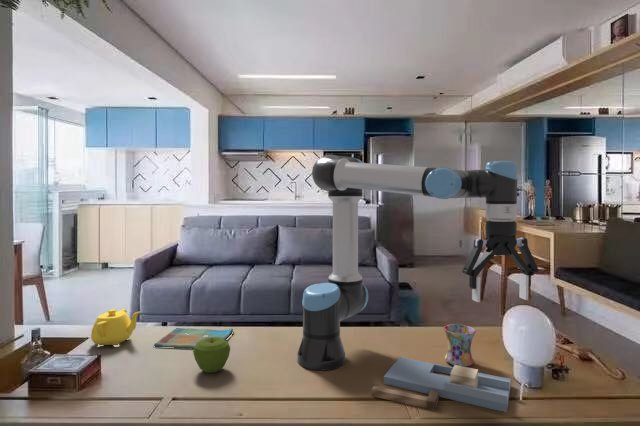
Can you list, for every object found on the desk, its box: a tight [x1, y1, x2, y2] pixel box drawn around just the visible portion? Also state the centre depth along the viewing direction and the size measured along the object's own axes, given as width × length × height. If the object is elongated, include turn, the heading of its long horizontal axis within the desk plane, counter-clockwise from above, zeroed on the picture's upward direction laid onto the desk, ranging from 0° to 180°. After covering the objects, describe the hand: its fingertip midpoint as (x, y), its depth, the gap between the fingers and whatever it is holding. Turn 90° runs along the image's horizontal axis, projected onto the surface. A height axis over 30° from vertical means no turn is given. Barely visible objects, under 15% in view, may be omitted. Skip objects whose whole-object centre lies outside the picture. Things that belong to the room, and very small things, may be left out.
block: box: [449, 365, 479, 388], centre depth 106 cm, size 6×6×4 cm
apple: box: [192, 337, 231, 374], centre depth 120 cm, size 11×10×10 cm
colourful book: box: [153, 327, 234, 350], centre depth 145 cm, size 17×23×2 cm
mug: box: [443, 323, 477, 367], centre depth 126 cm, size 12×9×11 cm
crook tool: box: [371, 385, 440, 411], centre depth 104 cm, size 16×6×2 cm, turn 65°
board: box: [383, 356, 512, 413], centre depth 111 cm, size 31×15×4 cm, turn 61°
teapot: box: [90, 308, 141, 346], centre depth 142 cm, size 14×14×12 cm
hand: (500, 299), depth 107 cm, fingers open, 13 cm apart
